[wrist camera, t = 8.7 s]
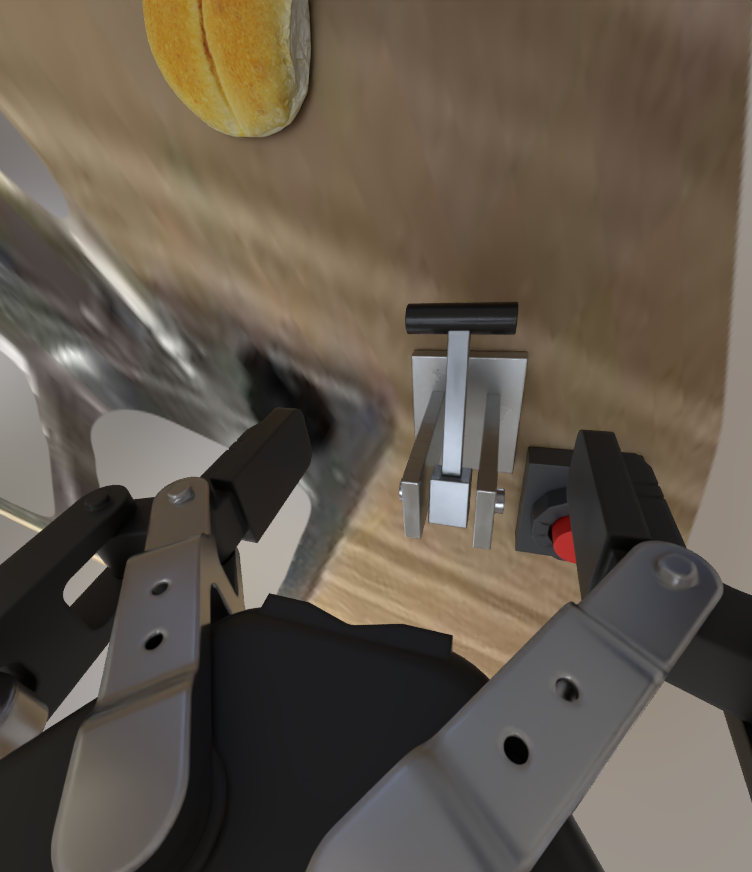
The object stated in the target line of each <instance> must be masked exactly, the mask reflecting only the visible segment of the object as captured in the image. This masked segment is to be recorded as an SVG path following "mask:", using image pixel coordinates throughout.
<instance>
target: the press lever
mask: <svg viewBox="0 0 752 872" xmlns="http://www.w3.org/2000/svg"><path fill="white" fill-rule="evenodd" d="M517 317H518V302H480V303H420V304H408V305H407V308H406V315H405V325H406V331H407V333H408V334H448V344H447V366H446V387H445V408H444V430H443V451H442V465H436V466H435V469H434V471H433V473H432V476H431V478H430V490H429V516H428V522H429V523H433V524H440V525H447V526H454V527H461V528H467V522H468V516H469V509H470V496H471V482H472V468H466V467H462V466H463V450H464V435H465V419H466V403H467V388H468V372H469V356H470V340H471V334H487V335H514V334H515V333H516V327H517Z"/></svg>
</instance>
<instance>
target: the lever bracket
mask: <svg viewBox="0 0 752 872" xmlns="http://www.w3.org/2000/svg"><path fill="white" fill-rule="evenodd" d="M411 359H412V381H413V404H414V426H415V443H414V446H413V449H412V452H411V455H410V457H409V460H408V463H407V466H406V469H405V472H404V475H403V478H402V479H401V482H400V486H399V499H400V500H401V501H403V515H404V528H405V536H406V537H412V538H418V539H421V537H422V533H423V528H424V524H425V520H426V516H427V512H428V508H429V490H430V478H431V476H432V473H433V471H434V469H435V466H436V465H442V451H443V430H444V408H445V387H446V366H447V351H430V350H415V351H414V352H413V354H412V356H411ZM527 362H528V354H527V352H487V351H470V356H469V372H468V388H467V403H466V419H465V435H464V450H463V466H462V467H466V468H472V469H474V470H479V472H478V481H477V491H476V505H475V520H474V534H473V547H476V548H482V549H491V541H492V532H493V523H494V513H500V514H503V510H504V499H505V489H499V488H497V475H498V472H503V473H513V468H514V460H515V453H516V445H517V438H518V430H519V423H520V415H521V408H522V400H523V392H524V385H525V377H526V370H527Z"/></svg>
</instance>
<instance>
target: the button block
mask: <svg viewBox="0 0 752 872" xmlns="http://www.w3.org/2000/svg"><path fill="white" fill-rule="evenodd" d="M573 452H574V450H561V449H549V448H537V447H528V453H527V460H526V466H525V473H524V479H523V486H522V492H521V499H520V505H519V512H518V518H517V524H516V531H515V550H516V551H521V552H528V553H534V554H541V555H548V556H552V557H554V558H556V559H558V560H563V561H566V560H564V559H562V558H561V557H559V556H558V555H557V553H556V552H555V550H554V546H553V537H552V526H553V524H554V523H555V522H556V521H557V520H558V519H559V518H561V517H563V516H568V515H569V510H568V504H567V494H566V490H567V479H568V473H569V469H570V465H571V461H572V456H573ZM639 457H640V458H641V459H643V460H644V458H643V456H639ZM644 461H645V460H644Z"/></svg>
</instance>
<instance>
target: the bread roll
mask: <svg viewBox="0 0 752 872" xmlns="http://www.w3.org/2000/svg"><path fill="white" fill-rule="evenodd" d="M143 13H144V21H145V28H146V33H147V37H148V41H149V44H150V48H151V51H152V54H153V56H154V58H155V60H156V63H157V65H158V67H159V69H160V71H161V72H162V74H163V76H164V78H165V79H166V81H167V82H168V84H169V85H170V87H171V88H172V90H173V91H174V92H175V93H176V95H177V96H178V97H179V98H180V99H181V100H182V102H183V103H184V104H185V105H186V106H187V107H188V108H189V109H190V110H191V111H192V112H194V113H195V114H196V115H197V116H198V117H199V118H200V119H202V120H203V121H204V122H205V123H206V124H207V125H209V126H210V127H212V128H213V129H215V130H217V131H219V132H221V133H224V134H227V135H230V136H234V137H266V136H269V135H272V134H274V133H276V132H279V131H281V130H282V129H283V128H284V127H286V126H287V125H289V124H290V123H291V122H292V121H293V120H294V118H295V117H296V115H297V113H298V112H299V110H300V107H301V105H302V103H303V101H304V99H305V97H306V94H307V92H308V82H309V66H310V58H311V43H310V15H309V6H308V0H143Z"/></svg>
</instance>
